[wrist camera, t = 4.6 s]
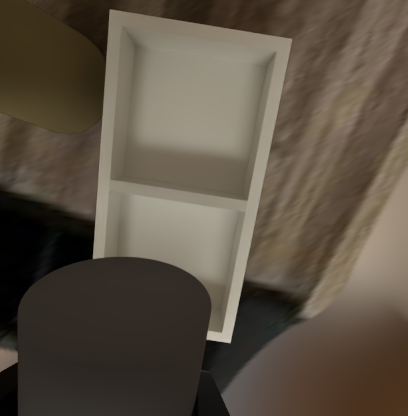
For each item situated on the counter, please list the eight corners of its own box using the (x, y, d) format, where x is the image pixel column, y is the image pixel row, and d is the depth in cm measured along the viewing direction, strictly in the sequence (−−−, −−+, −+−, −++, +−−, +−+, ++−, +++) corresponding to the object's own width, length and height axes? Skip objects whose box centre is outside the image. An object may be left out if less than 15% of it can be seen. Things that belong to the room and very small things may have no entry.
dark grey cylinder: (184, 422, 9) (168, 623, 5) (71, 407, 9) (-31, 603, 5) (210, 267, 8) (214, 379, 4) (79, 248, 8) (-47, 345, 4)
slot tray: (226, 309, 19) (230, 343, 15) (110, 291, 19) (88, 321, 15) (274, 63, 15) (292, 39, 12) (131, 40, 15) (109, 9, 12)
